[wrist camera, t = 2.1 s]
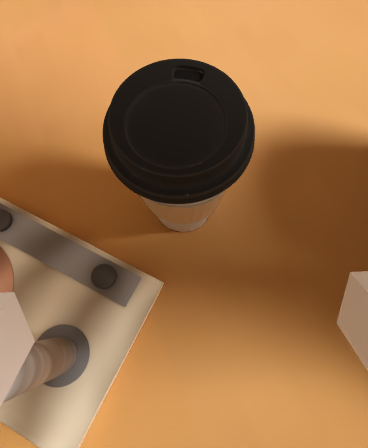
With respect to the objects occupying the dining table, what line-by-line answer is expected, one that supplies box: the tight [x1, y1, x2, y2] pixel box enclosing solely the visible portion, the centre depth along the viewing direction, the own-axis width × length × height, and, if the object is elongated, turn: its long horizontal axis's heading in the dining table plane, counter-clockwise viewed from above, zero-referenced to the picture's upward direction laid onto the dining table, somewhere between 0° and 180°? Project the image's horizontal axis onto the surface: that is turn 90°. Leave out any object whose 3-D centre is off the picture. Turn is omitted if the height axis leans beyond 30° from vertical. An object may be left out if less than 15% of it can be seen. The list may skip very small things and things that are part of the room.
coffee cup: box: [103, 59, 255, 232], centre depth 23 cm, size 9×9×15 cm
